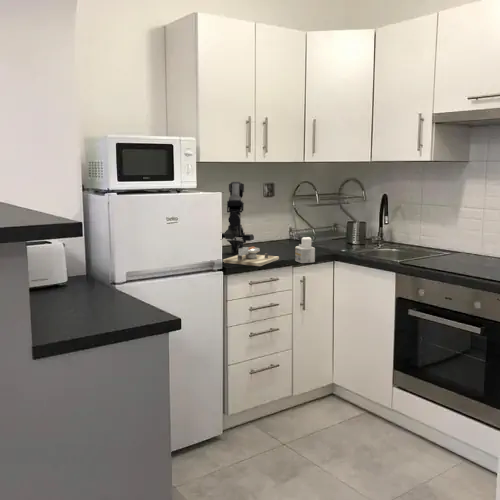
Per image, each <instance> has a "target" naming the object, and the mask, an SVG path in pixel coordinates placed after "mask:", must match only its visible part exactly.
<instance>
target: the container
mask: <svg viewBox="0 0 500 500" xmlns="http://www.w3.org/2000/svg"><path fill="white" fill-rule="evenodd" d="M312 240H313V239H312V237H310V236H300V237H299V238H298V245H297V246H295V248H294V249H295V251H294V253H295V256H294V257H295V258H294V261H295V262H298V263H300V264H309V263H310V264H311V263H315V262H316V261H315V260H316V248H315V247H313V246H312Z"/></svg>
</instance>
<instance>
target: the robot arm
mask: <svg viewBox="0 0 500 500" xmlns="http://www.w3.org/2000/svg"><path fill="white" fill-rule="evenodd" d="M228 193H230V194H229V195H230V196H229V197H228V200H227V202H226V206H227V207H226V213H227V214H228V213H229V214H228V215H229V216H228V223H229V224H228V227H227V230H225V231H224V232H221V233H222V239H221V240H223V239H225V240H226V241H227V243H229V244H230V245H231V250H230V251H231V252H229V254H231V255H239V248H243V247H245V245H244V244H245V243H247V242H251V241H254V239H255V236H254V234H251V233H245V232H244V228H243V226H242V224H241V223H242V219H241V217H242V216H241V214H242V213H243V212H244V202H243V200H242V199H243V196H244V193H245V184H244V183H242V182H241V181H231V182H230V183H228Z"/></svg>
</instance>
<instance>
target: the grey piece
mask: <svg viewBox="0 0 500 500" xmlns="http://www.w3.org/2000/svg"><path fill="white" fill-rule="evenodd" d="M260 249H261V248H260V247H255V246H249V247H247V246H246V247H245V246H244V247H243V248H239V254H238V255H239V256H244V255H247V254H249V253H259V252H260Z"/></svg>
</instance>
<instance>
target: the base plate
mask: <svg viewBox="0 0 500 500" xmlns="http://www.w3.org/2000/svg"><path fill="white" fill-rule="evenodd" d="M257 253H258V252H257ZM257 253H249V254H247V255H244V256H239V254H235V255H234V256H229V257H227V258H224V259H222V260H223V262H224V263H223V264H234V265H245V266H253V267H254V266H255V267H262V266H264V265H267V264H270V263H272V262H276V261H278V260H280V256H275V255H269V253H268V252H266V253H264V254H257Z"/></svg>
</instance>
